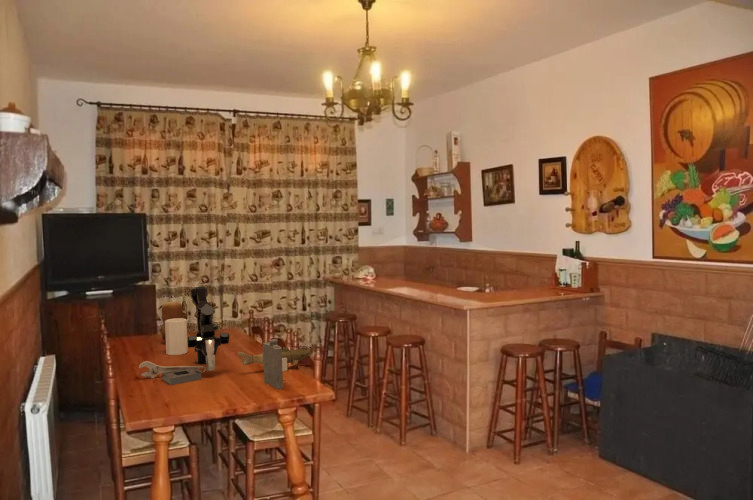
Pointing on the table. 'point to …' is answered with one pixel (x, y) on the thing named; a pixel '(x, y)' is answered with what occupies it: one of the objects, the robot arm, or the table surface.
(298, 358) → the wood carving
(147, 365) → the wrench
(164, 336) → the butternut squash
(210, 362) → the pin
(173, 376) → the grey square frame
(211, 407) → the table surface
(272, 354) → the hip flask
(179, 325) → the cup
